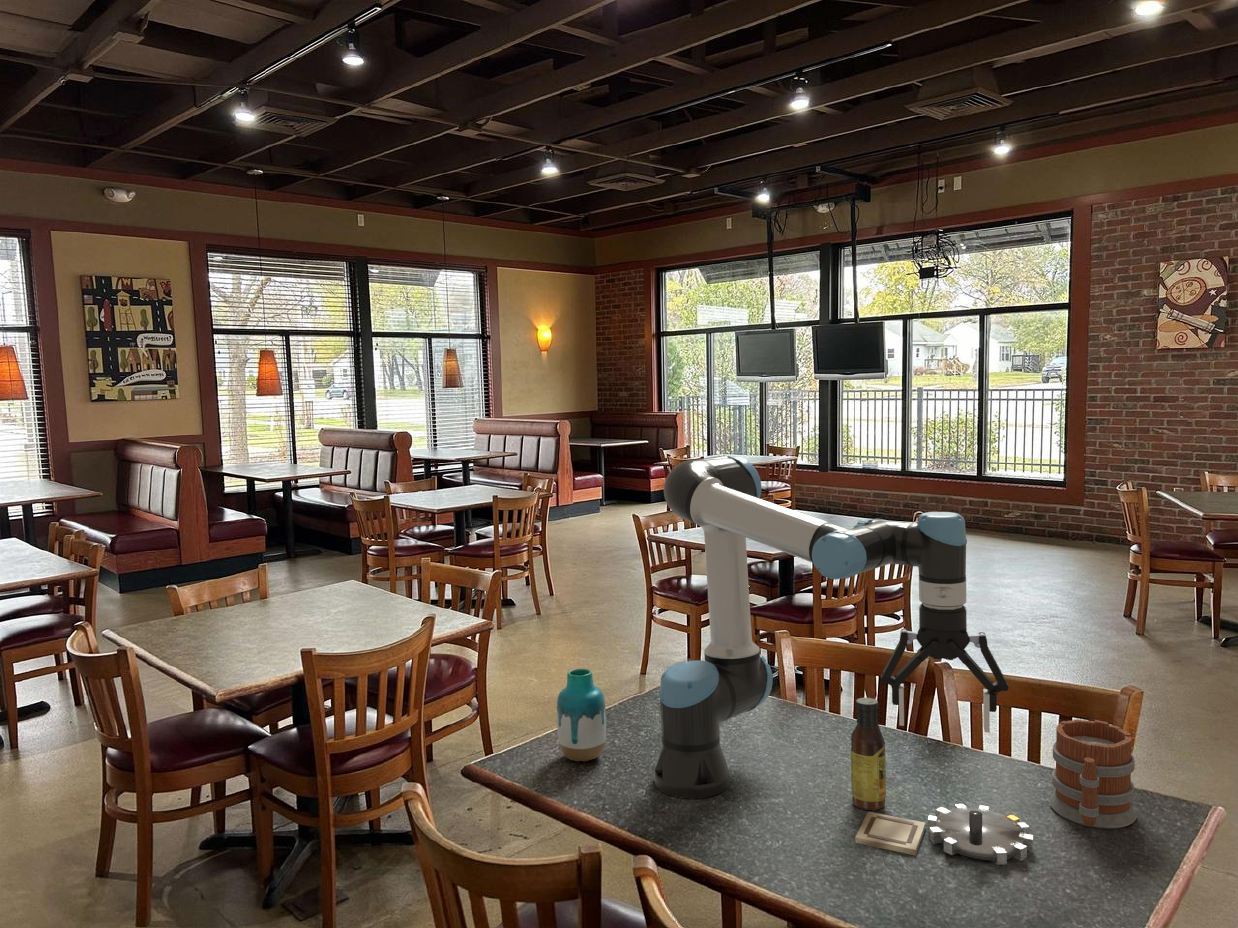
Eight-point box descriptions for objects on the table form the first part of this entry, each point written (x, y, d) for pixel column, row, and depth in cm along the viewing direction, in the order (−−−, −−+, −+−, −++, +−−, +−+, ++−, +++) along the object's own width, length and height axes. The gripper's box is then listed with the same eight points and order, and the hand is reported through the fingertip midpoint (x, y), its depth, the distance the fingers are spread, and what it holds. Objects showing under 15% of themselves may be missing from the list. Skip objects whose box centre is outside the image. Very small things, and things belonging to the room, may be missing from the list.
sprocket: (921, 848, 148) (921, 808, 147) (935, 807, 162) (935, 770, 161) (1030, 871, 140) (1030, 829, 140) (1035, 825, 154) (1035, 787, 153)
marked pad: (855, 842, 152) (855, 836, 152) (868, 816, 161) (868, 810, 160) (915, 855, 147) (915, 849, 147) (925, 827, 156) (925, 821, 156)
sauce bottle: (887, 813, 162) (886, 708, 160) (852, 810, 163) (851, 707, 161) (884, 796, 168) (883, 695, 166) (850, 794, 169) (849, 694, 167)
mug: (1137, 802, 162) (1138, 724, 161) (1135, 851, 146) (1137, 764, 145) (1052, 787, 170) (1053, 711, 168) (1042, 832, 153) (1043, 749, 152)
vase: (616, 753, 192) (613, 668, 190) (589, 772, 183) (585, 683, 181) (577, 744, 197) (573, 661, 196) (548, 762, 189) (544, 675, 187)
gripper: (864, 606, 149) (866, 728, 150) (1026, 613, 141) (1026, 741, 143) (866, 596, 156) (868, 712, 158) (1020, 601, 148) (1020, 723, 150)
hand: (943, 726), depth 150 cm, fingers open, 13 cm apart
